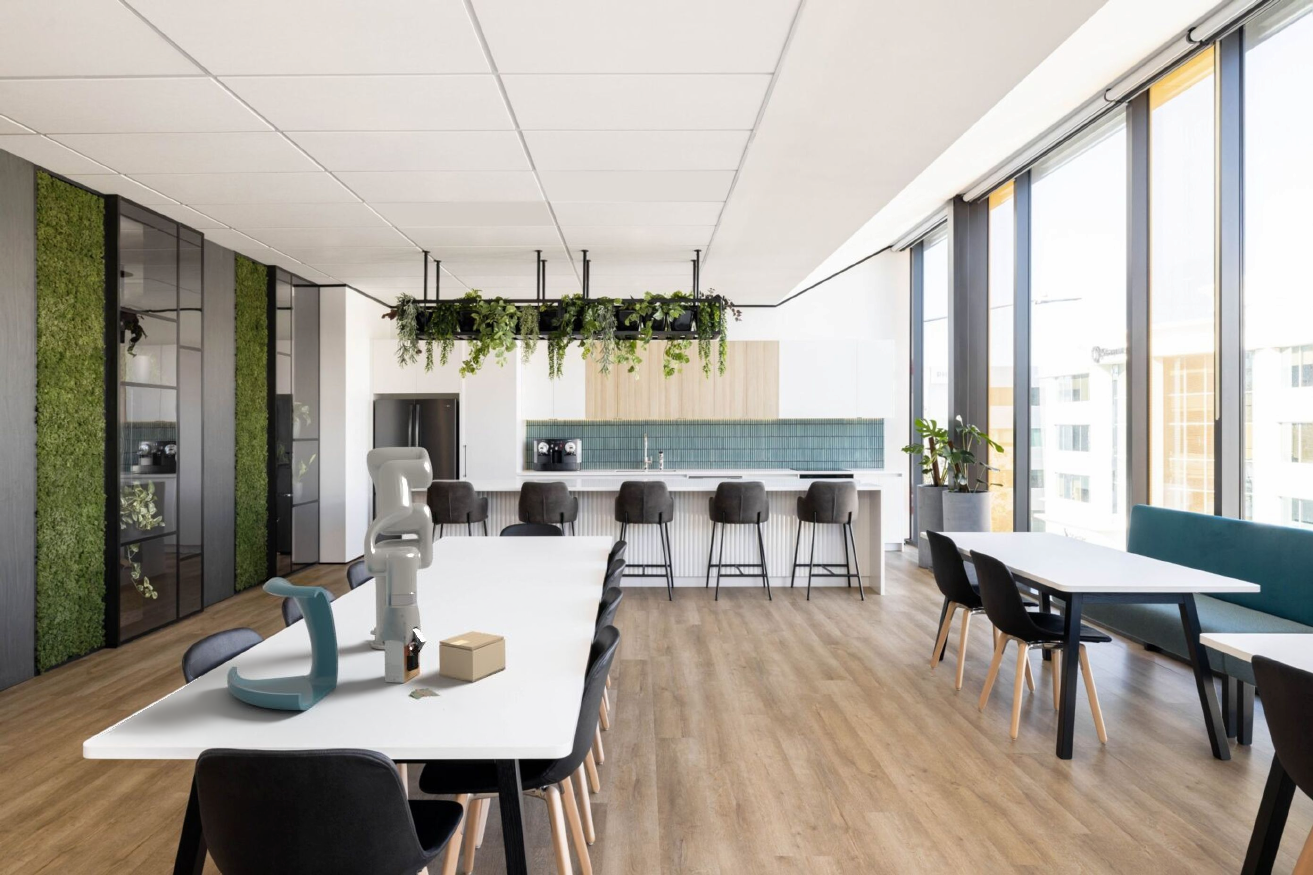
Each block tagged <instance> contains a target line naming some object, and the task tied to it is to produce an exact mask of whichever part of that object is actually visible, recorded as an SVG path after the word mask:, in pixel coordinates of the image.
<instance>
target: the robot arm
mask: <svg viewBox="0 0 1313 875" xmlns="http://www.w3.org/2000/svg"><path fill="white" fill-rule="evenodd" d="M366 466H367V471H368V473H369V476H370V478H371V481H372V483H373V485H374V486H373V487H374V489H375V496H376V497H375V504H376V506H375V507H376V510H375V511H376V518H374V520H373V521H372V522H371V523H370V525H369V526H368V528H367V530H366V532H365V537H364V542H363V552H364V553H363V554H364V558H363V559H364V569H365V572H366V574H367V575H368V576H370V577H373V578H374V579H375V580H374V581H375V620H376V621H375V627H374V628H373V629H371V631H370V635H372V636H374V639H373V640H372V641H371V642H370V647H371V648H373V649H375V650H385V641H388V640H394V641H400V642H403V645H404V646H407V651H408V654H409V655H408V656H407V671H412V670H415V669H418V667H419V666H418V653H421V650H422V649H423V647H424V645H425V644H426V642H427V641H426V639H425V638H424V637H423V634H422V633H421V632H422V631H421V629H422V628H421V617H420V616H421V615H420V610H419V605H418V591H417V590H418V587H417V586H418V582H417V581H418V578H417V577H418V576H417V571H418V570H424V569H427V568H429V567H431V565H432V564H433V559H434V558H433V557H434V546H433V544H434V542H433V517H432V516H433V515H432V512H431V508H430V507H429V505H428V504H426V503H423V502H413V500H412V499H413V498H412V497H413V496H412V490H415V489H427V488H430V487H431V485H432V483H433V478H434V477H433V467H432V462H431V459H430V456H429V453H428V451H427V449H426V448H424V447H421V446H391V447H389V446H388V447H387V446H386V447H377V448H373V449H371V450H369V451H368V452H367V454H366ZM379 534H380V535H382V536H383V535H384V536H403V535H416V537H417V538H416V537H415V538H399V539H396V538H395V539H387V540H382V541H379V542H377V543H376V538H377V536H378V535H379ZM411 641H412V642H411ZM411 645H413V646H414V648H413V649H412V647H411Z"/></svg>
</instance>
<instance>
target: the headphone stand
mask: <svg viewBox="0 0 1313 875" xmlns="http://www.w3.org/2000/svg"><path fill="white" fill-rule="evenodd" d="M262 590H263V591H264V592H266V593H268V594H271V595H274V596H277V597H284V598H292V599H294V601H295V603H296V604H297V606H298V608H299V610H300V613H301V614H302V617H303V621H304V623H305V626H306V630H307V632H308V636H309V640H310V648H311V666H310V671H309V673H308V674H306V675H297V676H296V675H295V676H284V677H274V678H262V679H251V678H250V679H249V678H243V677H241V676H240V675H239V674H238V666H231V668H230V669H229V670H228V673H227V676H226V684H227V688H228V690H229V691H230V693H231V694H232V695H233V696H234V697H235V698H236V699H238V700H240V701H241V702H244V703H246V704H249V705H252V706H255V707H260V708H265V709H272V710H285V711H307V710H309V709H311V708H313V707H314V706H316V705H317V704H318V703H319V702H320V701H321V700H323V699H324V698H325V697H327V696H328V695H330V693H332V692H333V691H334V690H335V689H336V687H337V684H338V677H339V650H338V640H337V631H336V625H335V617H334V613H333V609H332V604H331V601H330V598H329V595H328V593H327V591H326V589H325V588H324V587H322V586H302V585H301V586H299V585H298V586H297V585H293V584H292V583H291V582H290V581H289V580H287V579H285V578H283V577H279V576H278V577H277V576H276V577H272V578H270V579H269V580H268V581H266V582H265V583H264V585H262Z"/></svg>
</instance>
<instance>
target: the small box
mask: <svg viewBox="0 0 1313 875" xmlns="http://www.w3.org/2000/svg"><path fill="white" fill-rule="evenodd" d="M411 642H412V641H411ZM411 647H412V649H413V648H414V646H413V645H411ZM420 653H421V652H420ZM420 653H418V666H419V667H418V669H415V670H412V671H407V656H408V655H409V654H408V651H407V646H404V645H403V642H400V641H394V640H388V641H385V649H384V682H385V683H398V684H399V683H403V684H404V683H407V682H408V681H409V680H410V679H413V678H414V677H416V676H418V675H420V674H421V670H420V669H421V667H420V665H421V664H420V663H421V661H420V658H421V657H420Z"/></svg>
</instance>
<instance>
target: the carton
mask: <svg viewBox="0 0 1313 875" xmlns="http://www.w3.org/2000/svg"><path fill="white" fill-rule="evenodd" d="M438 648H439V651H438V653H439V676H440V677H441V676H442V677H444V678H445V677H446V678H449V679H455V680H459V681H464V682H469V683H476V682H478V681H481V680H483V679H486V678H488V677H490V676H492V675H495V674H497V673H500V672H503V671H505V670H506V639H505V638H504V639H503V640H500V641H497V642H494V643H491V644H488V645H485V646H482V647H479V648H476V649H473V650H469V649H464V648H458V647H453V646H447V645H442V644H439V646H438Z"/></svg>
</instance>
